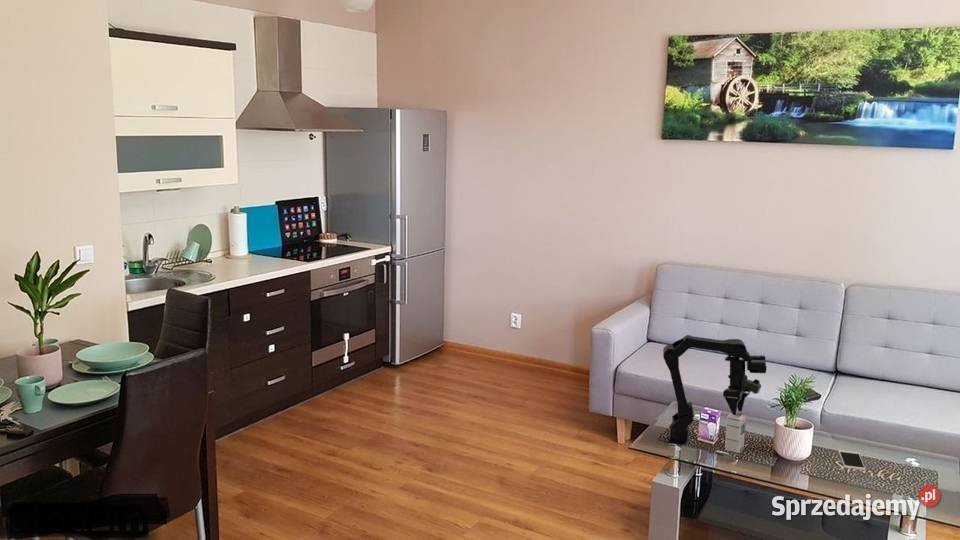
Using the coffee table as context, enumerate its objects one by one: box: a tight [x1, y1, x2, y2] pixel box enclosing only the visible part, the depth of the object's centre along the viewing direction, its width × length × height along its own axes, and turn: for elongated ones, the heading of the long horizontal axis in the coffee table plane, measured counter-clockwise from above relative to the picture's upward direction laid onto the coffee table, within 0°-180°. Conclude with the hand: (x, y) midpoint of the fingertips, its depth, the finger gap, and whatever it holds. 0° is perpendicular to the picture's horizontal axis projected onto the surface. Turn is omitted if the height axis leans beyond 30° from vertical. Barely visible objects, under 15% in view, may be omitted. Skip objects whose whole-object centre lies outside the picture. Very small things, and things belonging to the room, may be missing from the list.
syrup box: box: [724, 411, 747, 454], centre depth 294 cm, size 6×6×14 cm
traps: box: [721, 453, 736, 462], centre depth 294 cm, size 6×23×1 cm, turn 124°
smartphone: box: [838, 449, 866, 471], centre depth 287 cm, size 7×16×1 cm, turn 163°
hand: (737, 413), depth 293 cm, fingers open, 9 cm apart
